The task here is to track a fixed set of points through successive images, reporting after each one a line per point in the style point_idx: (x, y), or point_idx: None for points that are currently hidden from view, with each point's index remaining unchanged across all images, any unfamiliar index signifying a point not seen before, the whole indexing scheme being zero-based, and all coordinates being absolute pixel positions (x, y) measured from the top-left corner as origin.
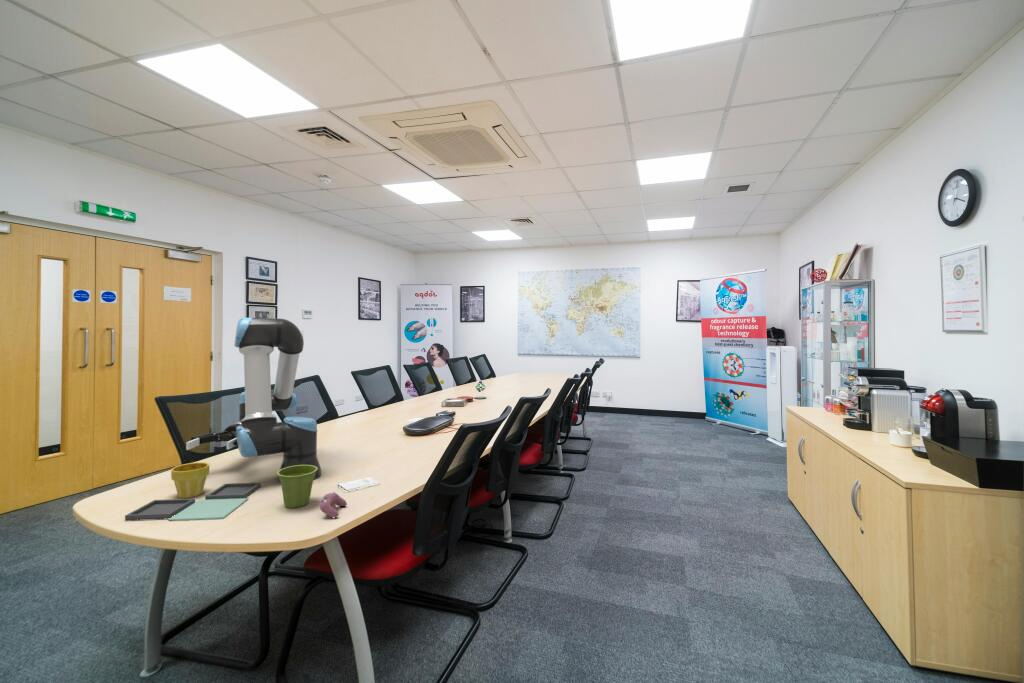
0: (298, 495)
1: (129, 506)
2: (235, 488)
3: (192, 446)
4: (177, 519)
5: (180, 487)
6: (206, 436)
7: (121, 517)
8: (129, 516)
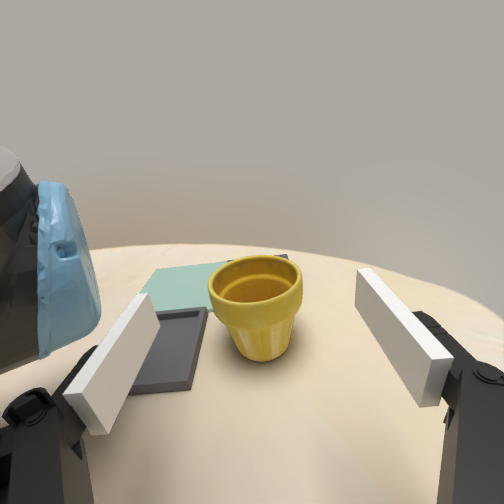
0: None
1: (339, 290)
2: (155, 371)
3: (372, 323)
4: (214, 263)
5: (264, 295)
6: (476, 465)
7: (303, 265)
8: (280, 255)
